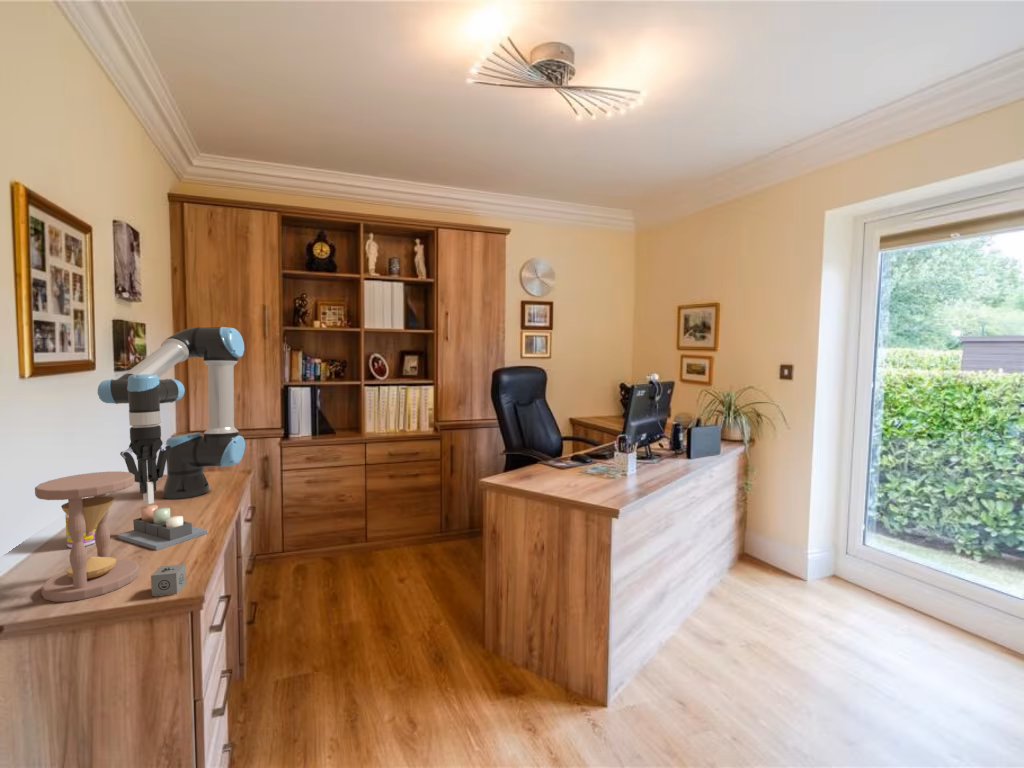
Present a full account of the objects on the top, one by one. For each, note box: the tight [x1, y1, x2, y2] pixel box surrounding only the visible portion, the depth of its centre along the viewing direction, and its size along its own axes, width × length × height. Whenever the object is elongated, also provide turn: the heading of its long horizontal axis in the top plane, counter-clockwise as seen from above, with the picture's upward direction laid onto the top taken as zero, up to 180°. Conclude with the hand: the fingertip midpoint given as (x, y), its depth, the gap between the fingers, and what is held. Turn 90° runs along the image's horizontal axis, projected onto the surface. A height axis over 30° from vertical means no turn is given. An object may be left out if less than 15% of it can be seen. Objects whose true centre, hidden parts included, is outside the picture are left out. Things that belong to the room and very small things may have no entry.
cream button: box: [166, 515, 184, 529], centre depth 144 cm, size 4×4×4 cm
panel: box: [117, 517, 208, 551], centre depth 147 cm, size 14×20×4 cm
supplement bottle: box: [65, 498, 97, 549], centre depth 140 cm, size 7×7×13 cm
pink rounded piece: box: [140, 504, 159, 522], centre depth 149 cm, size 4×4×4 cm
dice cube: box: [150, 563, 187, 597], centre depth 113 cm, size 5×5×5 cm
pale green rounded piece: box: [153, 507, 171, 525], centre depth 147 cm, size 4×4×4 cm
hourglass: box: [34, 470, 140, 603], centre depth 116 cm, size 18×18×25 cm
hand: (148, 502), depth 149 cm, fingers closed
